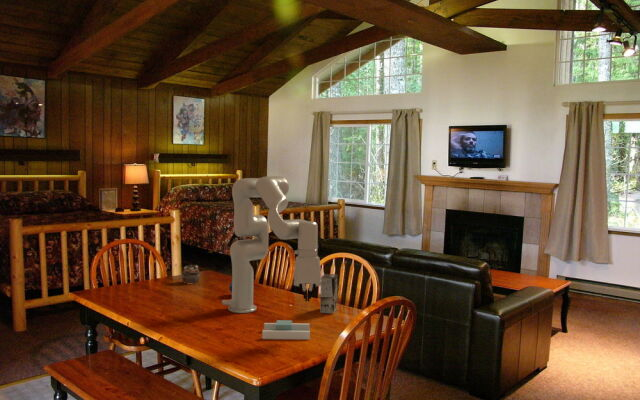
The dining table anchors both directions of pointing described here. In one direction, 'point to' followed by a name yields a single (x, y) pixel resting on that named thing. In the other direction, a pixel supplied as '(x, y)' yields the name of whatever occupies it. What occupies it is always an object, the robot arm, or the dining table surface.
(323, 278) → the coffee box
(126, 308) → the dining table surface
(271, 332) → the trough
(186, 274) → the cupcake
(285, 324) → the block
